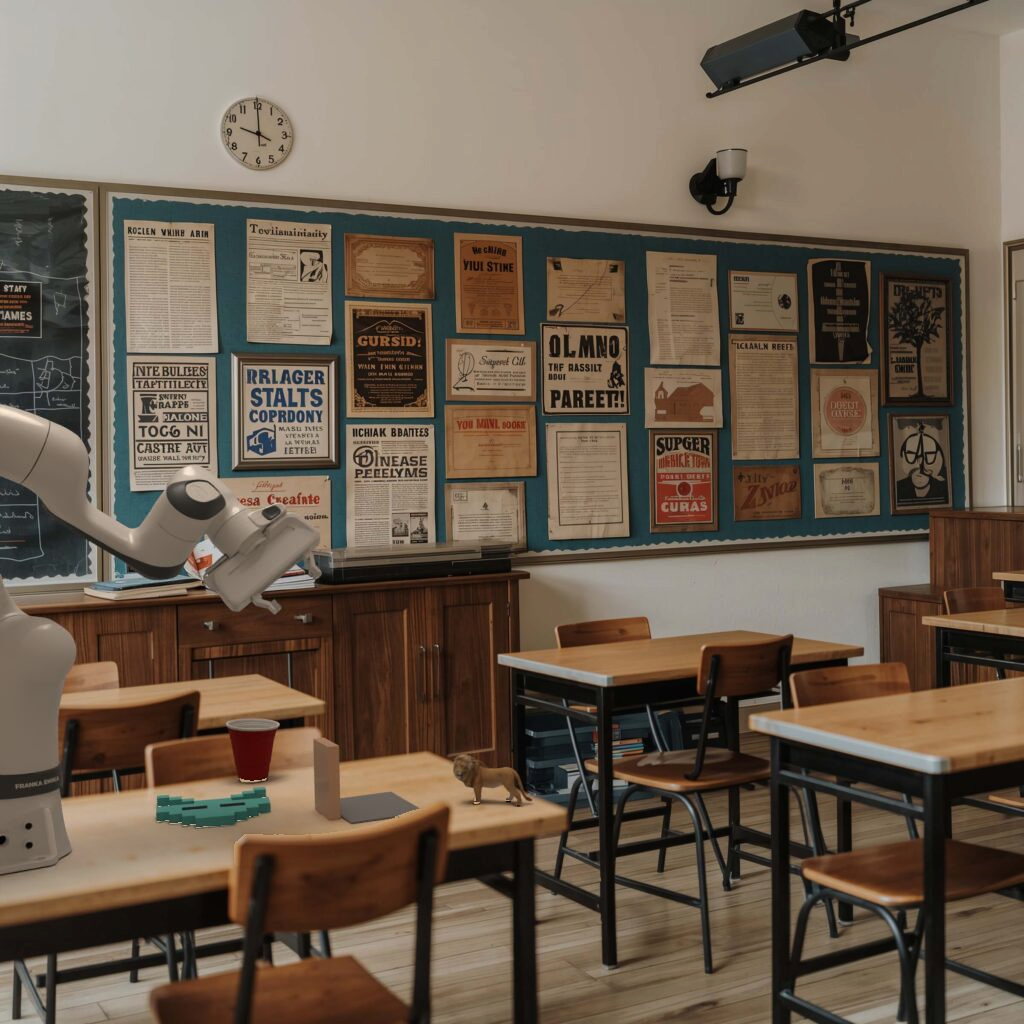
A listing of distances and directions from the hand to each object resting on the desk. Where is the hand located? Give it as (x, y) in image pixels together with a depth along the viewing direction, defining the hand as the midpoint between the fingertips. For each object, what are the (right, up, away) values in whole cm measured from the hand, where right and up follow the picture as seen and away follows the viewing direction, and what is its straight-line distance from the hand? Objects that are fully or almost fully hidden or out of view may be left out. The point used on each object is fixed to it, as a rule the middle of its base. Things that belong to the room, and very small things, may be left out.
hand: (298, 593), depth 212 cm
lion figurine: (+33, -40, +15) cm, 54 cm away
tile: (+4, -40, +10) cm, 42 cm away
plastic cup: (-16, -41, +39) cm, 58 cm away
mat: (+11, -40, +13) cm, 44 cm away
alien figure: (-18, -42, +12) cm, 47 cm away
